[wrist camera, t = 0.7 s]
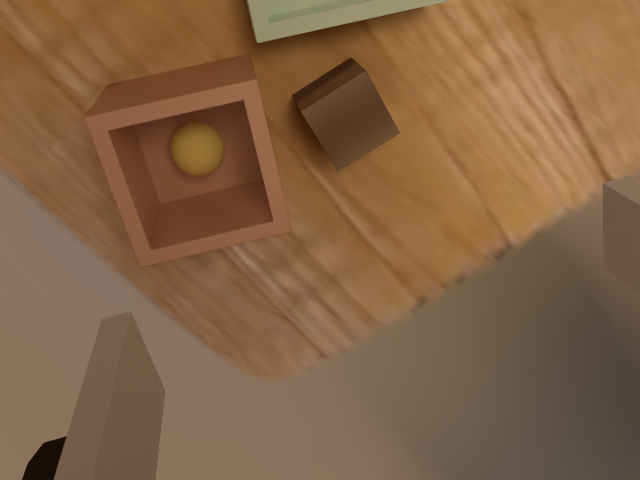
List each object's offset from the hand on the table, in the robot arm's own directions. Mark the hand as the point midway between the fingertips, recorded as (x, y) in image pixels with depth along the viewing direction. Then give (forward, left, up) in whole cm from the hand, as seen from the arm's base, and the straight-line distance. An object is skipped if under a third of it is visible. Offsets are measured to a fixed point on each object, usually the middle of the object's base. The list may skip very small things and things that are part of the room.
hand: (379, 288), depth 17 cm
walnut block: (+1, +3, -22) cm, 22 cm away
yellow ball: (+1, -6, -21) cm, 22 cm away
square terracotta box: (+1, -6, -22) cm, 22 cm away
